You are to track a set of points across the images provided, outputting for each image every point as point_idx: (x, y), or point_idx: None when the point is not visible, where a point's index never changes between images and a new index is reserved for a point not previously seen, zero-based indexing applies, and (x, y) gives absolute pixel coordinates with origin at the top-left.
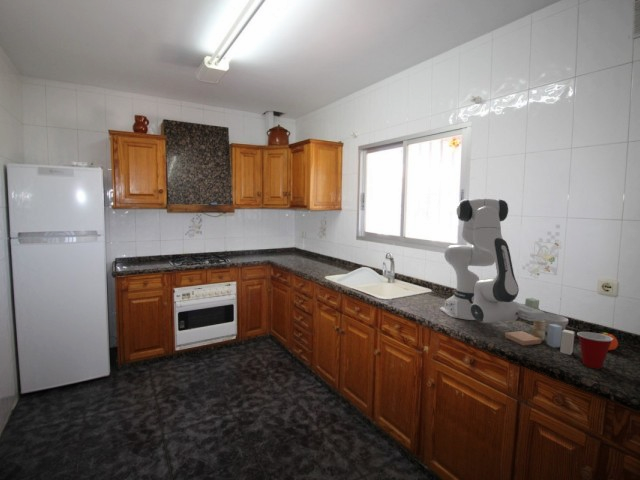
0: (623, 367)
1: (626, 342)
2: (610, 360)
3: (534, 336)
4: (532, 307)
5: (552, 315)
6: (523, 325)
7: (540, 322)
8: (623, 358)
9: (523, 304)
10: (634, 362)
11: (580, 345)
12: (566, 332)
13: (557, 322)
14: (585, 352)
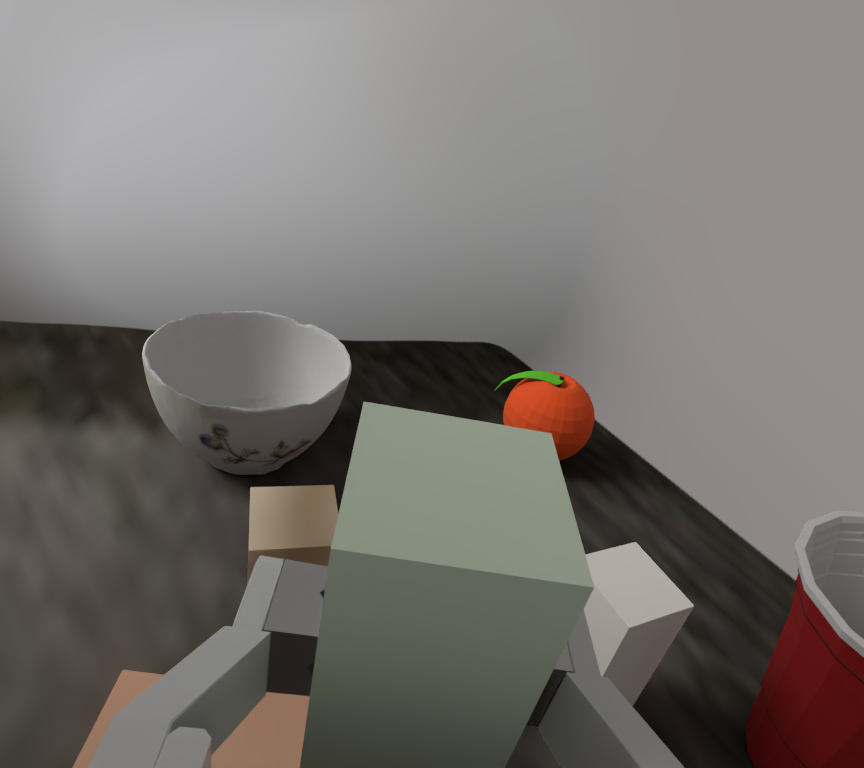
0: (776, 599)
1: (477, 343)
2: (682, 566)
3: (287, 696)
4: (533, 700)
5: (216, 323)
6: (42, 472)
7: (326, 553)
8: (645, 490)
9: (242, 656)
10: (689, 495)
11: (856, 740)
12: (656, 618)
13: (325, 403)
14: None
